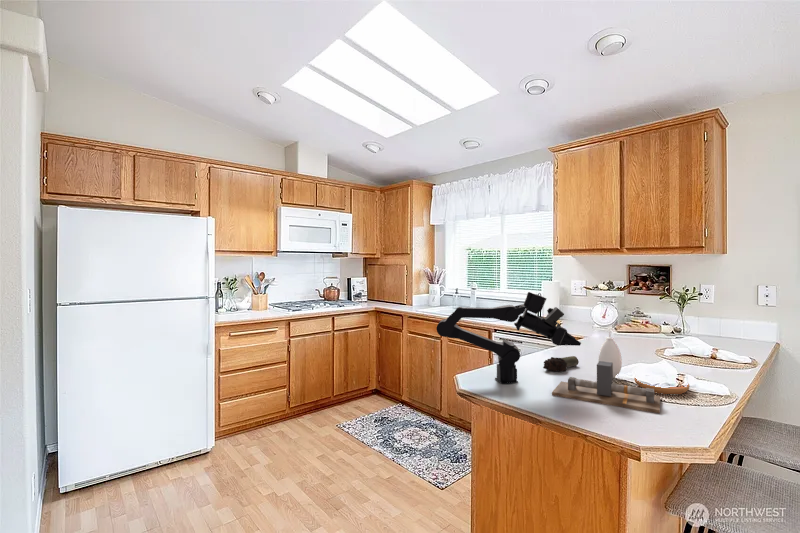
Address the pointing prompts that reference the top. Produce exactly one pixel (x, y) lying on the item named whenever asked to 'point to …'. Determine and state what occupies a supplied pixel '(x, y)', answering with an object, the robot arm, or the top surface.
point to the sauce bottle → (611, 354)
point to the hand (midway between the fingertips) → (577, 341)
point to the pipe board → (619, 397)
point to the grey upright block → (604, 378)
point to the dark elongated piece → (560, 363)
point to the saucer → (664, 390)
